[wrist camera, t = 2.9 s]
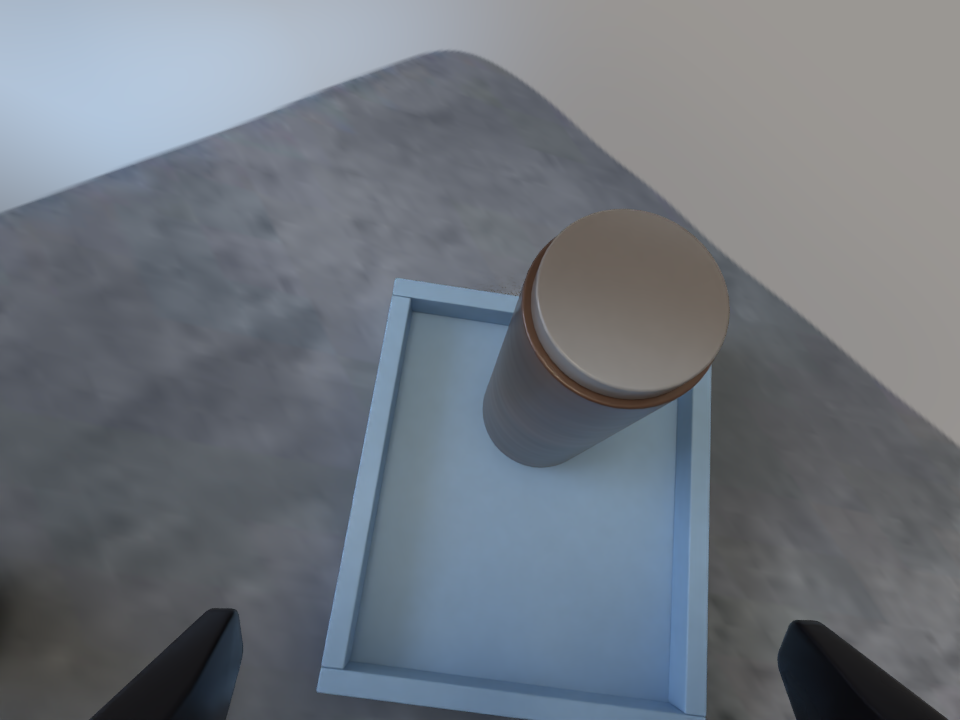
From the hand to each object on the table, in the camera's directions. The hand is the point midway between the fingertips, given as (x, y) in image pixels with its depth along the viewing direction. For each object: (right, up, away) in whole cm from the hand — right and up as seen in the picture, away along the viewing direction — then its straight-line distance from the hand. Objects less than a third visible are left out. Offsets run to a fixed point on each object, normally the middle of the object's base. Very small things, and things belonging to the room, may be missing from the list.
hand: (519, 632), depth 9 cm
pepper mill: (+2, +2, +15) cm, 16 cm away
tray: (+1, -1, +15) cm, 15 cm away
